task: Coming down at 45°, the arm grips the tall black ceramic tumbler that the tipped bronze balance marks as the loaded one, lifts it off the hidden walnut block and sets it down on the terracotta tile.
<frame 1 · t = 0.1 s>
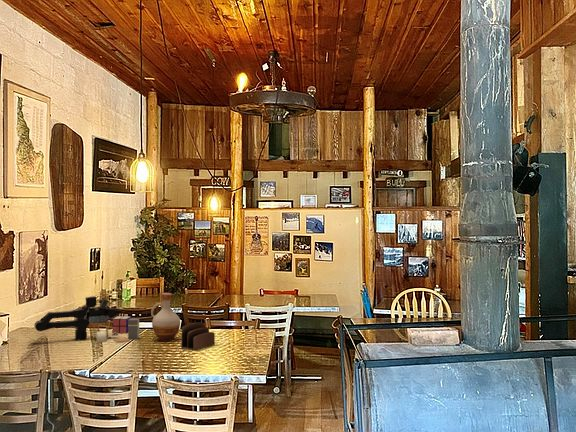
hand: (120, 310, 378), 17 cm above the table, tool horizontal, fingers open, 9 cm apart
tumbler: (133, 338, 367), on the table
balance: (106, 338, 367), on the table
jug: (164, 340, 364), on the table
block: (133, 336, 367), in the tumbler
puzzle cube: (121, 332, 391), on the table
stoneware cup: (101, 341, 358), on the table
tile: (121, 341, 359), on the table
letter holder: (198, 347, 343), on the table
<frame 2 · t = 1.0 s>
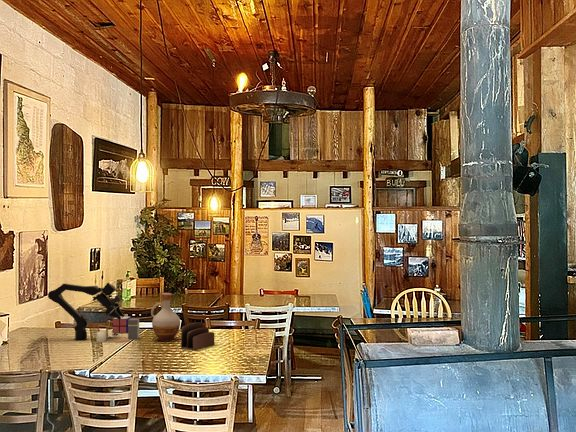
hand: (122, 317, 367), 14 cm above the table, tool tilted 45°, fingers open, 9 cm apart
nothing on the table moved.
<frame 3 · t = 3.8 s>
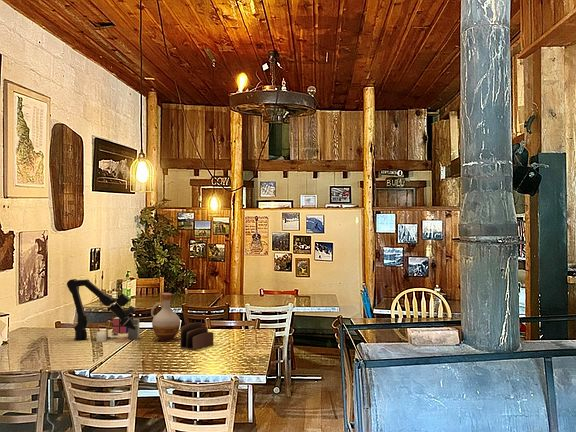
hand: (135, 328, 368), 7 cm above the table, tool tilted 45°, fingers closed on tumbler, 6 cm apart
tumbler: (133, 338, 367), on the table, touching gripper
everything else where it was.
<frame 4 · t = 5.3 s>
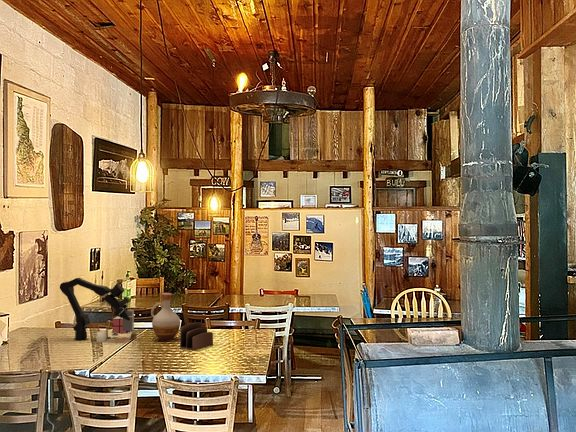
hand: (130, 319, 364), 13 cm above the table, tool tilted 45°, fingers closed on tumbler, 6 cm apart
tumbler: (128, 329, 364), point 6 cm above the table, touching gripper
everything else where it was.
when the fingers open (9 cm above the table, at t = 7.3 s): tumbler stays where it is, resting on tile.
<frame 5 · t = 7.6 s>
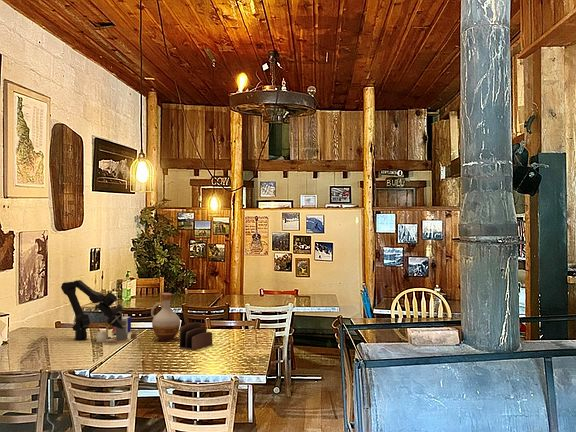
hand: (124, 327, 359), 9 cm above the table, tool tilted 45°, fingers open, 9 cm apart
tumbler: (121, 339, 359), point 1 cm above the table, touching tile
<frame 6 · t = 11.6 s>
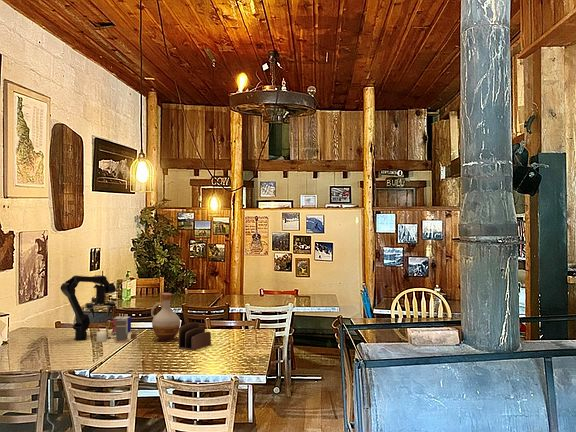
hand: (100, 317, 377), 12 cm above the table, tool pointing down, fingers open, 9 cm apart
at the end: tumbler inside the target area on the tile (0.1 cm from its centre), point 1.0 cm above the tile's base; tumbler tilted 0°; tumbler touching tile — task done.
